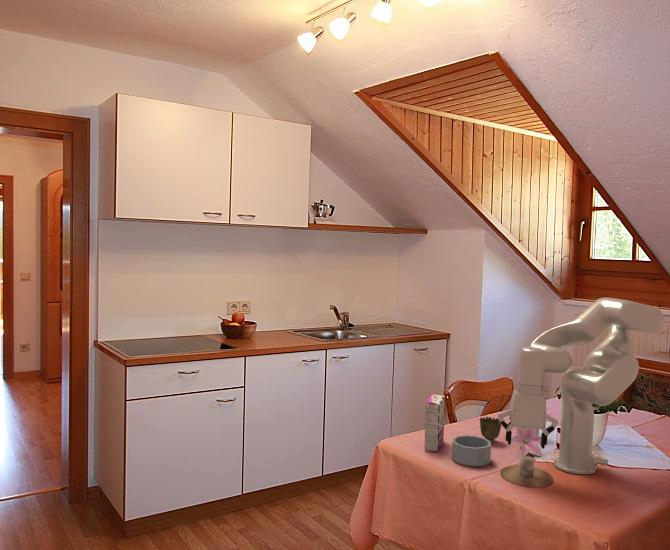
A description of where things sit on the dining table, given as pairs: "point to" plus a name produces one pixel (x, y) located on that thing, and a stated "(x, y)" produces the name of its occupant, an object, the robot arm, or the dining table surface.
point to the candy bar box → (434, 422)
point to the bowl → (471, 450)
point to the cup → (490, 428)
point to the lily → (527, 440)
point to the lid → (526, 474)
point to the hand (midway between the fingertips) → (525, 445)
